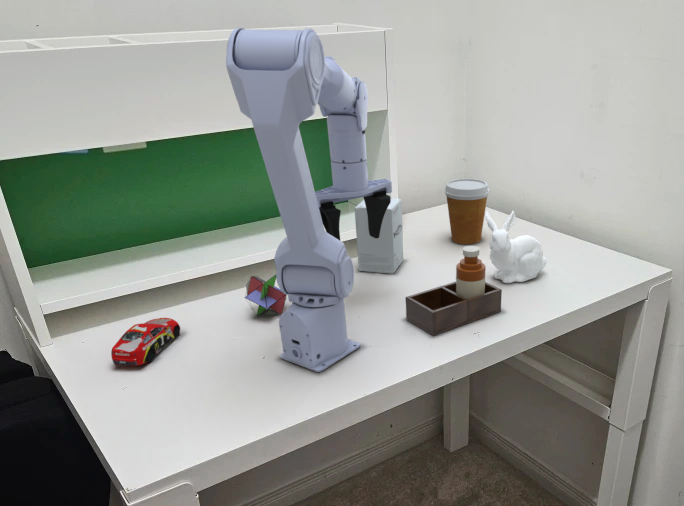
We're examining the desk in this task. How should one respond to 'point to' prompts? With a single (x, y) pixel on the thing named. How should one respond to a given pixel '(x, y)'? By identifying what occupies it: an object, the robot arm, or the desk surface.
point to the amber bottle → (470, 274)
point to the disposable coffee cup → (466, 209)
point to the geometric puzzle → (265, 294)
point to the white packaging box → (380, 240)
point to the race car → (144, 341)
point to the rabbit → (514, 253)
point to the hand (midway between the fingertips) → (355, 241)
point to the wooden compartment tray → (450, 308)
